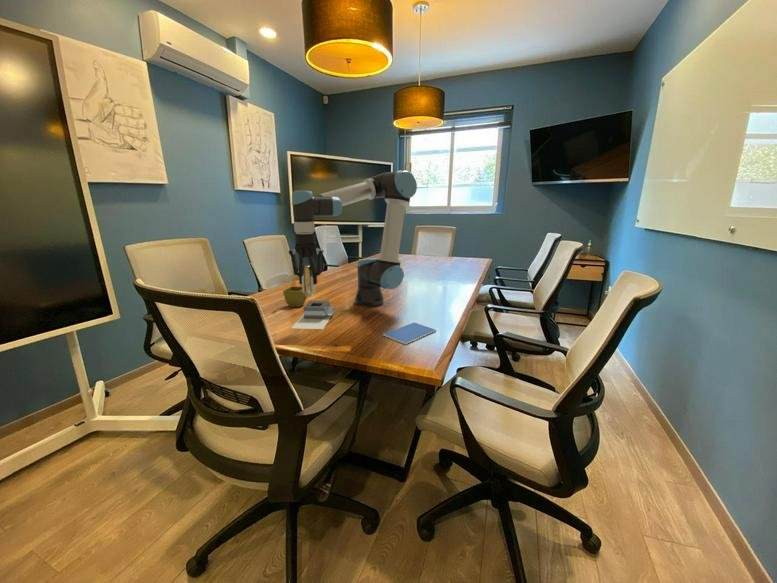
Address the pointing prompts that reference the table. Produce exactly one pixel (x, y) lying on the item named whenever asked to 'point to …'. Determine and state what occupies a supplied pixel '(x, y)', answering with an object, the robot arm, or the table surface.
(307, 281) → the brass pin
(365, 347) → the table surface
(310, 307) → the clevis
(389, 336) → the tablet computer
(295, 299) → the flower pot
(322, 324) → the mounting plate
